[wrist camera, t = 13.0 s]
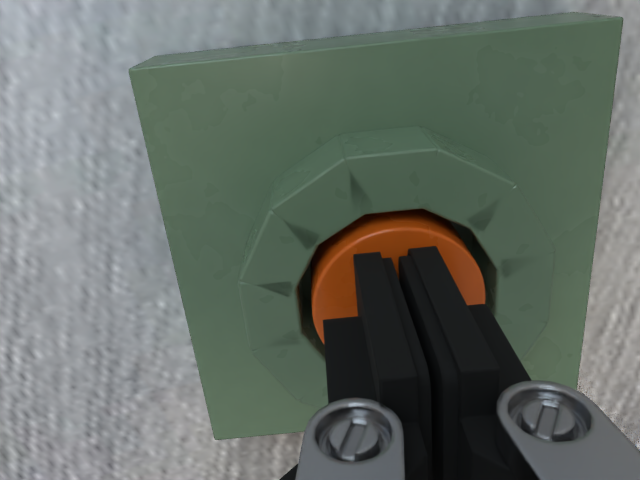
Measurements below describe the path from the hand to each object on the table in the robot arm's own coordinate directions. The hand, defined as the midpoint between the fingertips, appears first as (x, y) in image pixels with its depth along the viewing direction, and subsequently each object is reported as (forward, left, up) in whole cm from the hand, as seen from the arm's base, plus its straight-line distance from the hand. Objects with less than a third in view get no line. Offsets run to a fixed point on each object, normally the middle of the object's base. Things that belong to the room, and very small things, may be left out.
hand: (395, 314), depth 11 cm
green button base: (0, 0, -4) cm, 4 cm away
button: (0, 0, -2) cm, 2 cm away
